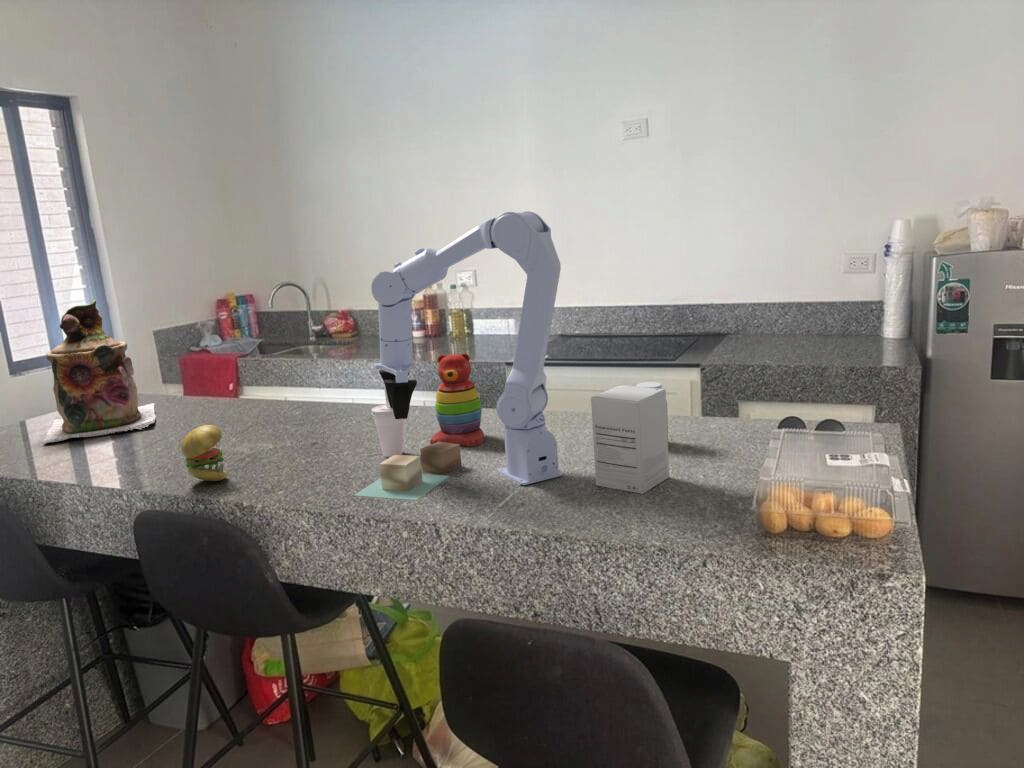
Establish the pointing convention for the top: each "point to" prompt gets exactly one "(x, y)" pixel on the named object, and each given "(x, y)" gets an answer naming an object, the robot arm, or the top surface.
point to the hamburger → (204, 453)
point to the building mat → (413, 494)
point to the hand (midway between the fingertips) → (398, 412)
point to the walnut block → (440, 457)
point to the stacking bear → (457, 403)
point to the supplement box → (630, 438)
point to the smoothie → (388, 429)
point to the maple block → (401, 472)
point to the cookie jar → (93, 381)
